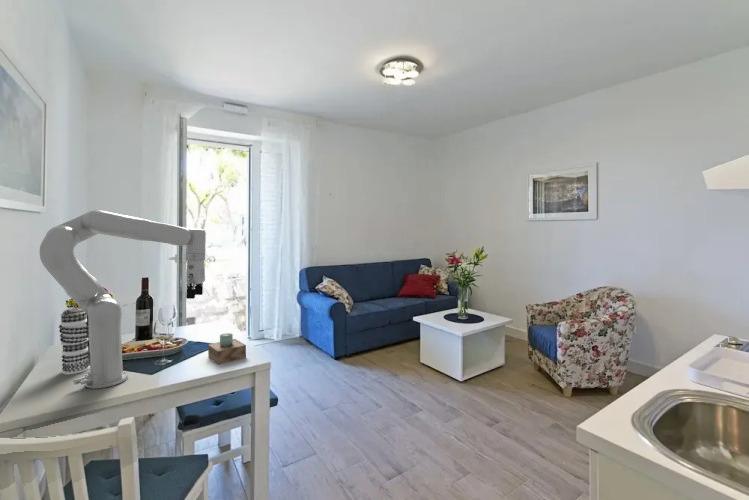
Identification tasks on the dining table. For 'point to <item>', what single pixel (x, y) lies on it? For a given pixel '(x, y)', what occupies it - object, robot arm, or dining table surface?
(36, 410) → the dining table surface
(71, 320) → the black white patterned vase
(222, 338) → the green rounded block
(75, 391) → the dining table surface
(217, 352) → the walnut block
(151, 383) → the dining table surface
